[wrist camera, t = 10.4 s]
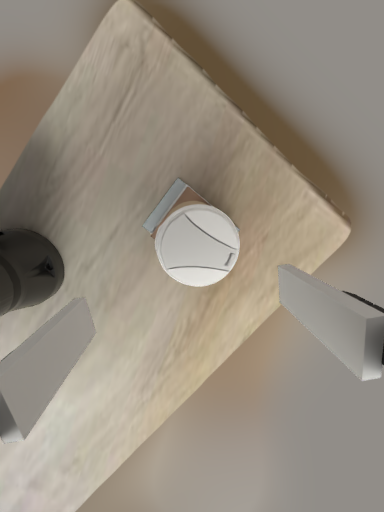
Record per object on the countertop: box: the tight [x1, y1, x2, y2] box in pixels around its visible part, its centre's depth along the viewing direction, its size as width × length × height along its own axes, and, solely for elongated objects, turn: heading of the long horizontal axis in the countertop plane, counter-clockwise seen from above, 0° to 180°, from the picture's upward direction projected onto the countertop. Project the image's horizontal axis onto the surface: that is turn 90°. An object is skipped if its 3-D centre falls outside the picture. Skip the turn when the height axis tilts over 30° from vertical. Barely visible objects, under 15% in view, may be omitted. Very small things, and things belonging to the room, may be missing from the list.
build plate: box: [143, 178, 240, 234], centre depth 38 cm, size 15×11×1 cm
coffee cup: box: [155, 204, 240, 287], centre depth 26 cm, size 8×8×15 cm
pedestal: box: [151, 187, 211, 239], centre depth 35 cm, size 10×10×5 cm
